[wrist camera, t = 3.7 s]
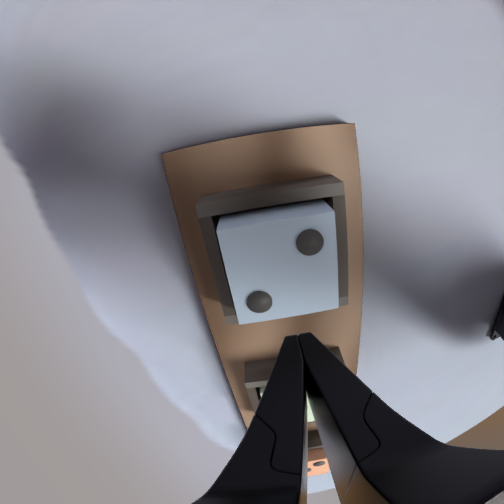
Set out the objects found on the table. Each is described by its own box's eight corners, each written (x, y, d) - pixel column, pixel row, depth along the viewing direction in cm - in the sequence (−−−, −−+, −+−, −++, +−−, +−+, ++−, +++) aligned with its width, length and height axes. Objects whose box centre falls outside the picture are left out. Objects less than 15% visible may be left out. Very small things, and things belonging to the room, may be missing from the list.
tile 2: (322, 199, 14) (335, 212, 12) (329, 287, 16) (339, 309, 14) (220, 216, 14) (215, 231, 12) (240, 301, 16) (239, 325, 14)
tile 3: (327, 441, 23) (330, 458, 22) (325, 458, 26) (328, 473, 24) (277, 449, 24) (279, 466, 22) (282, 465, 26) (283, 480, 24)
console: (348, 123, 14) (369, 123, 11) (341, 449, 29) (345, 468, 26) (166, 152, 15) (149, 159, 12) (263, 462, 29) (264, 481, 27)
